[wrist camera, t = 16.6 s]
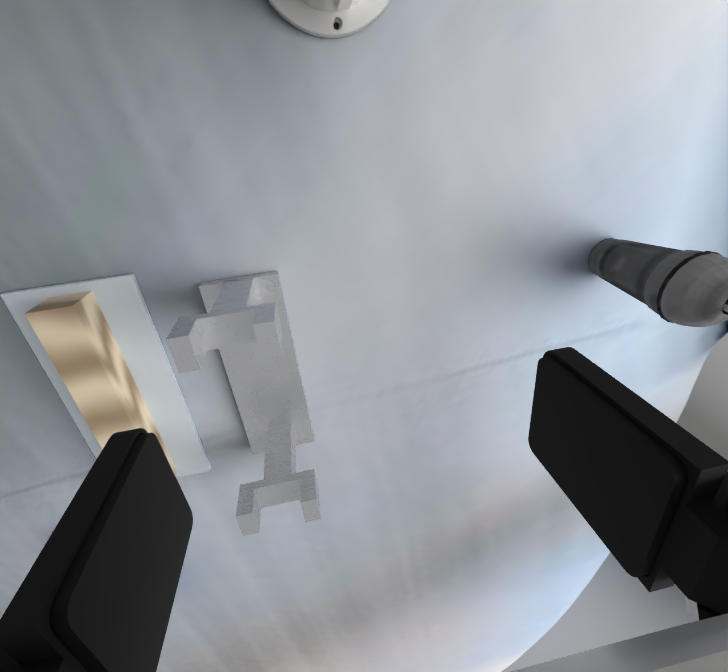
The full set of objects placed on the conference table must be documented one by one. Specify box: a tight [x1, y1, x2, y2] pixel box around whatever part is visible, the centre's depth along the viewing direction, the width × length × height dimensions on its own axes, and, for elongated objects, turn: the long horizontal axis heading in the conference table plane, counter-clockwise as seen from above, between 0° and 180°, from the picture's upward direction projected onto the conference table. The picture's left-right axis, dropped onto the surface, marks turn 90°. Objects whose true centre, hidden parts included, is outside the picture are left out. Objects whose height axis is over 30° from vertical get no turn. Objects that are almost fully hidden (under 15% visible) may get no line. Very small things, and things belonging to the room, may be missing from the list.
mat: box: [0, 273, 211, 478], centre depth 44 cm, size 27×12×1 cm, turn 6°
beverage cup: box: [588, 238, 728, 327], centre depth 38 cm, size 7×7×20 cm
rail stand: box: [166, 271, 321, 536], centre depth 40 cm, size 23×8×13 cm, turn 6°
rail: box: [25, 291, 177, 476], centre depth 42 cm, size 25×4×4 cm, turn 6°
